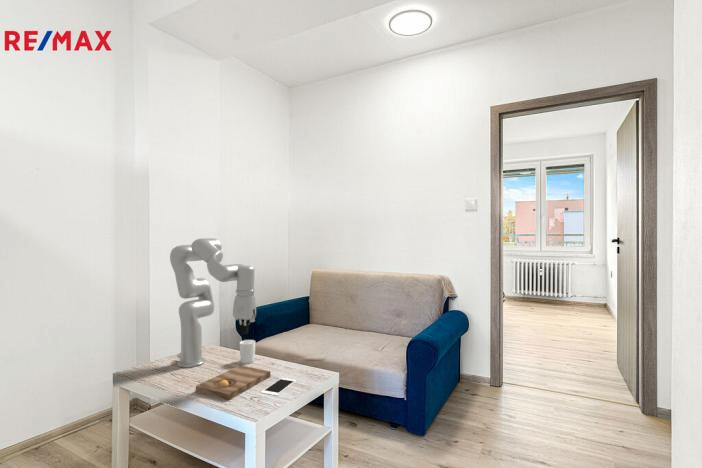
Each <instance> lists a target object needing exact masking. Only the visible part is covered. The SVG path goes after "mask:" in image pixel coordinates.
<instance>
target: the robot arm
mask: <svg viewBox="0 0 702 468" xmlns="http://www.w3.org/2000/svg"><path fill="white" fill-rule="evenodd" d="M223 257H224V253H223V252H222V243H221V241H220V240H218V239H217V238H214V237H213V238H210V237H209V238H197V239H195V240H194V241H192V243H191V244H181V245H178V246H175V247H173V248H172V249H171V251H170V253H169V262H170V265H171V268H172V270H173V272H174V276H175V281H176V282H175V283H176V286H177V291H178V296H179V297H180V298H181V299H184V300H185V299H186V300H187V299H191V300H188V301H185V302H182V303H181V304H180V305H179V307H178V315H179V316H178V317H179V319H180V352H179V354H177V356H176V357H177V358H179V361H177V366H178V367H180V368H194V367H199V366H202V365H203V364H204V363H205V362H206V358H204V357H203V356H202V354H203V352H202V351H203V350H202V349H203V348H202V344H203V343H202V341H203V340H202V338H203V336H202V335H203V334H202V325H201V322H200V321H199V320H198V319H202V318H206V317H209V316H211V315H212V314H213V313H214V311H215V302H214V297H213V293H212V288H211V284H210V281H208V280H207V279H206V278H202V277H200V278H195V274H194V270H193V269H192V267H191V266H190V265H189V264H188V263H187V262H198V261H204V262H205V263H206V266H207V271H208V273H209V275H210V276H212V277H213V279H215V280H217V281H219V282H221V283H227V282H234V281H236V290H235V293H236V295H235V297H234V300H233V307H232V317H233V318H234V319H235V320H236V321H238V323H239V325H240V334H241V335H247V334H248V333H249V325H250V324H251V323H254V322H255V321H256V320H255V319H256V317H257V303H256V302H257V301H256V296H255V267H254V266H252V265H244V264H242V263H240V264H239V263H236V264H222V263H221V262H222V260H223ZM193 298H198V299H193Z"/></svg>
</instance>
